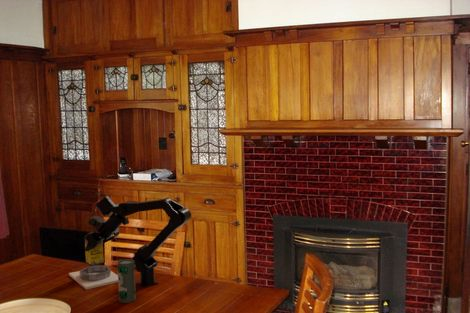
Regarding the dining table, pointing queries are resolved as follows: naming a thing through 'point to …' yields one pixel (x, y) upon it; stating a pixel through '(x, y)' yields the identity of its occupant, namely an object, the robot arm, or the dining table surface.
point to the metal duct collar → (95, 277)
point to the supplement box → (94, 255)
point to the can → (126, 281)
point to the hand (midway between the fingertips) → (91, 248)
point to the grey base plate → (93, 284)
